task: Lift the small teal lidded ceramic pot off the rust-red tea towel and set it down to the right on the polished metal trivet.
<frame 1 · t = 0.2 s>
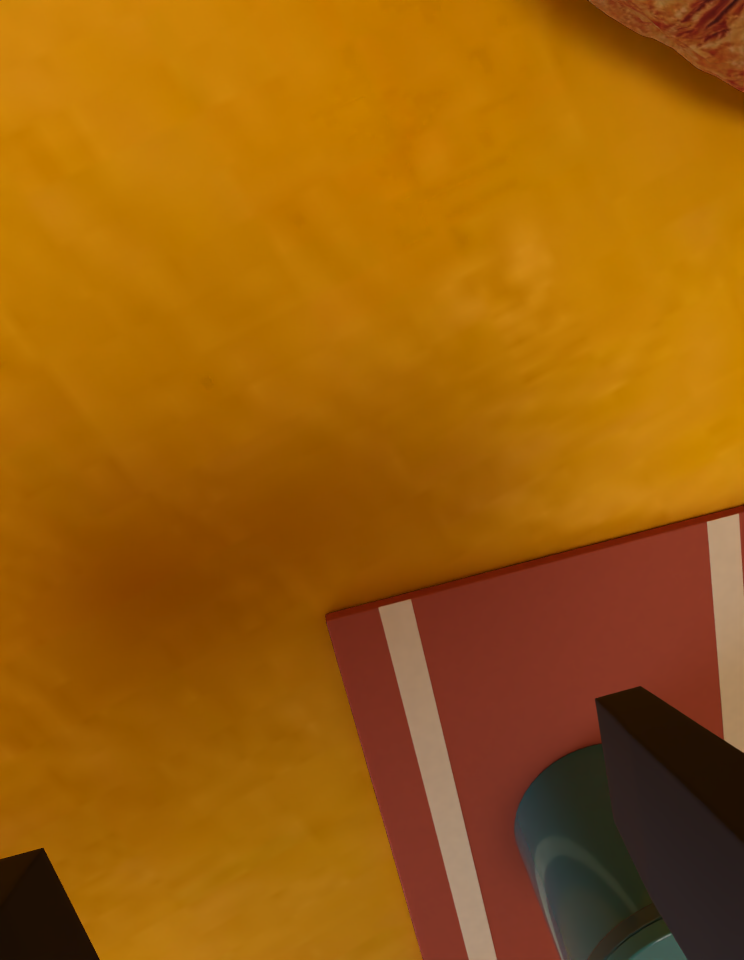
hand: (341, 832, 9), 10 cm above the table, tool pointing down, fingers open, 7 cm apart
pot: (599, 815, 22), resting on tea towel
tea towel: (594, 805, 22), on the table
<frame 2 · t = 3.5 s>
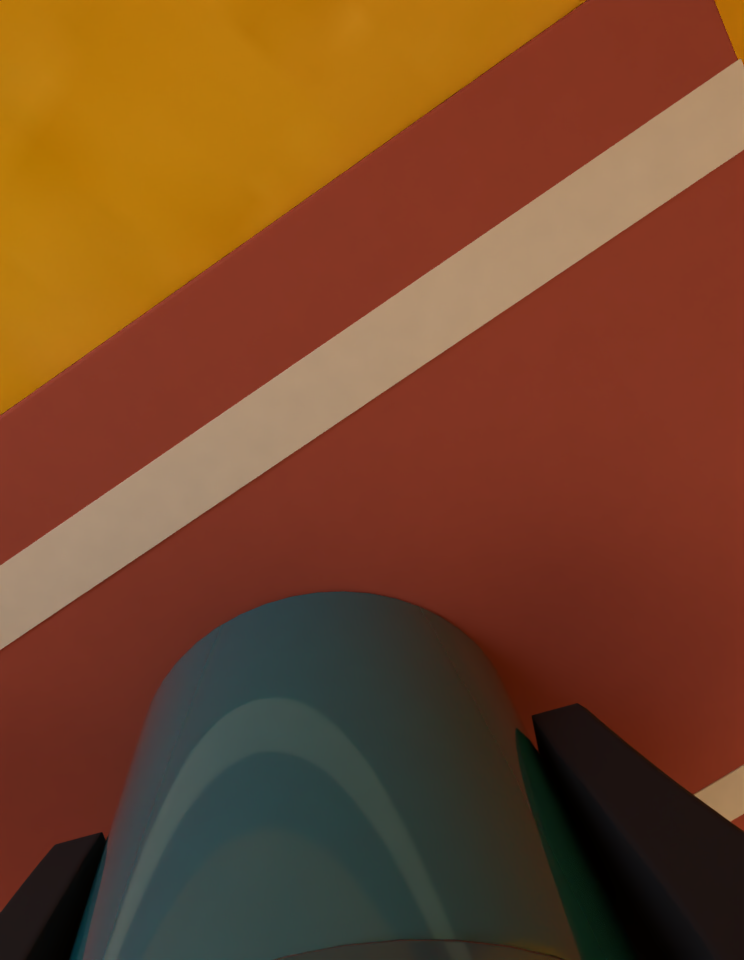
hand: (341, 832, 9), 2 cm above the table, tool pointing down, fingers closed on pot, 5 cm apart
pot: (332, 758, 10), resting on tea towel, touching gripper
tea towel: (333, 740, 11), on the table
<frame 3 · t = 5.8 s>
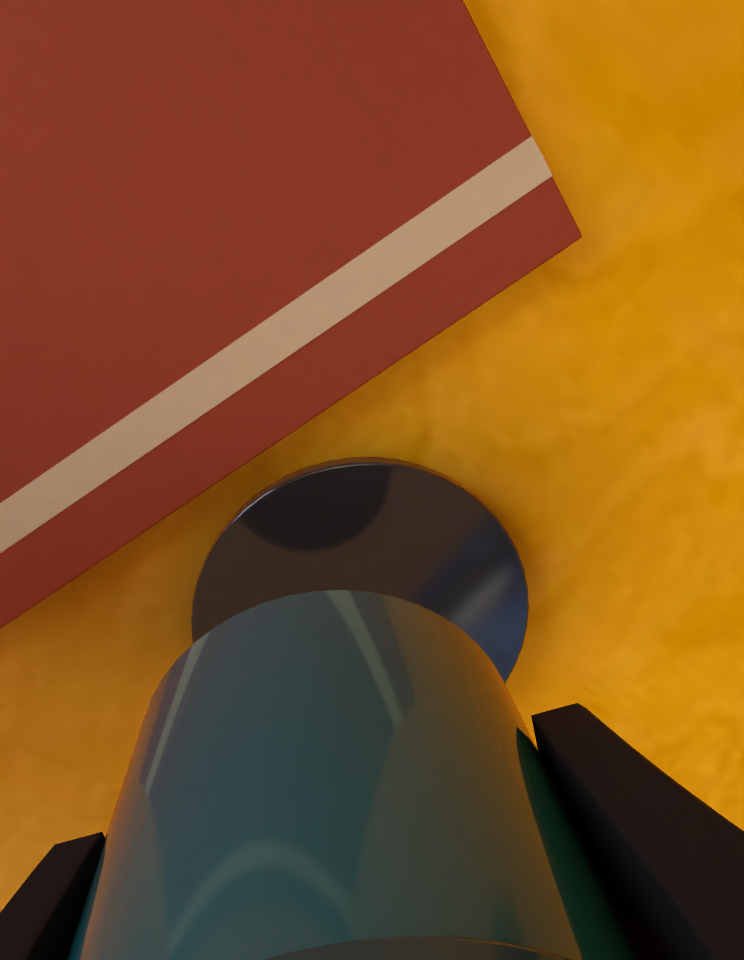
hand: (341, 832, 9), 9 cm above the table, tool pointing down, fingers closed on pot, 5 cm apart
pot: (331, 757, 10), point 7 cm above the table, touching gripper
polished metal trivet: (362, 615, 18), on the table
tea towel: (52, 208, 14), on the table
when the fingers open (2 cm above the table, at t = 8.2 s): pot stays where it is, resting on polished metal trivet.
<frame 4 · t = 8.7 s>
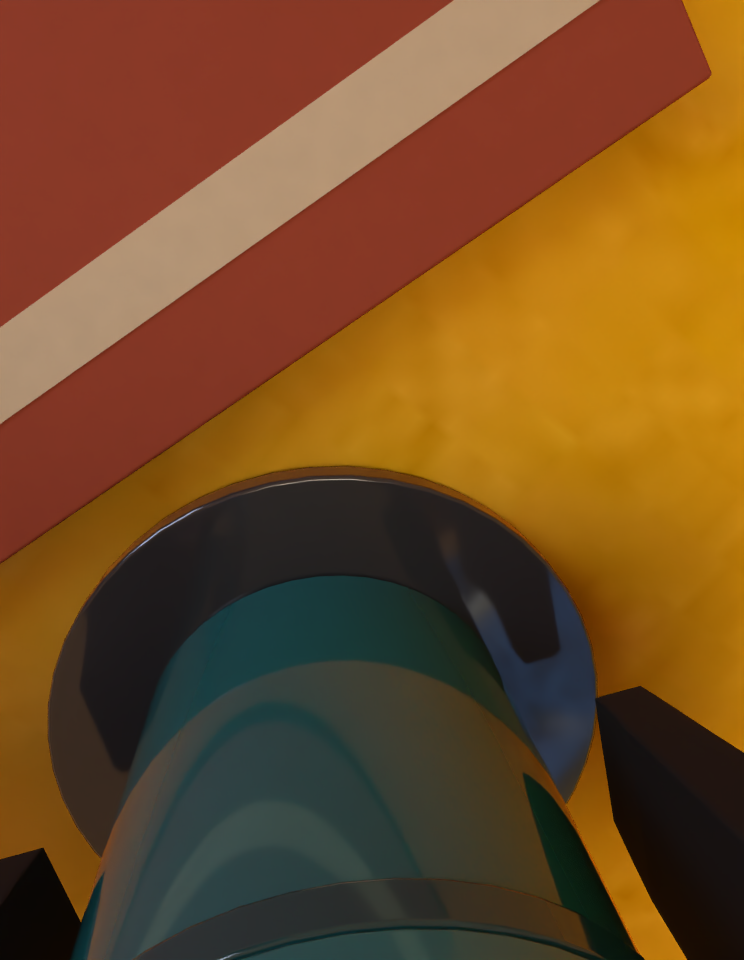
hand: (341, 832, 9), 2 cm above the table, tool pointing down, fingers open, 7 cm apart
pot: (331, 737, 11), resting on polished metal trivet
polished metal trivet: (332, 717, 11), on the table
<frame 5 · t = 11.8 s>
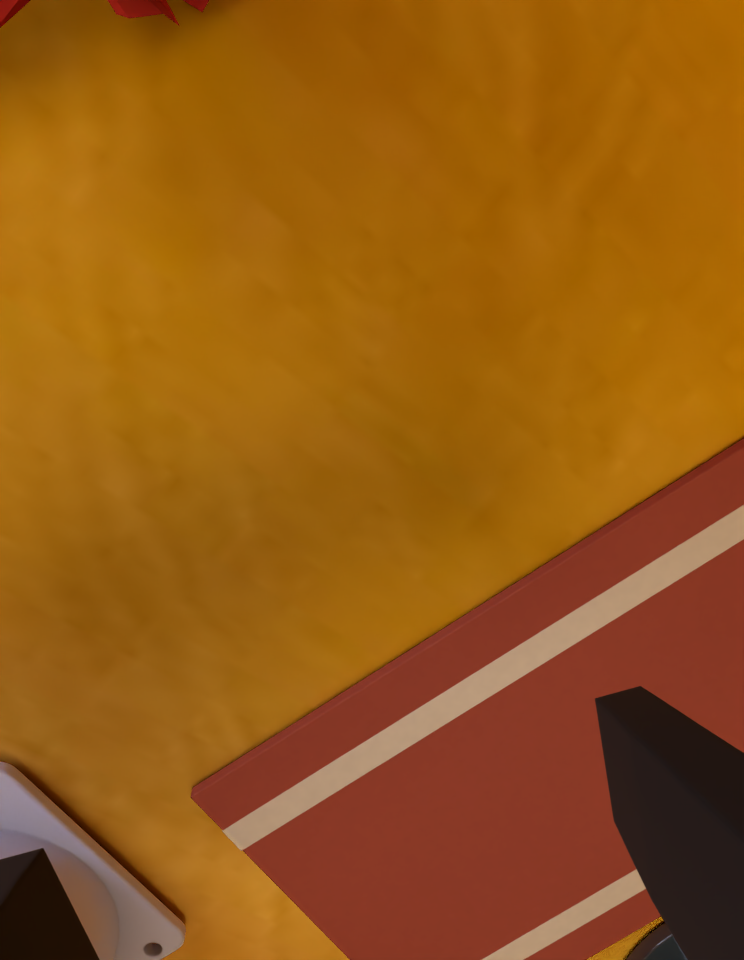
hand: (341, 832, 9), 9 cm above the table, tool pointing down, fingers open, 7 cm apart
tea towel: (573, 772, 21), on the table
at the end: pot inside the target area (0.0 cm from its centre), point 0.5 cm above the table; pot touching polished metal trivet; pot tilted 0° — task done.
